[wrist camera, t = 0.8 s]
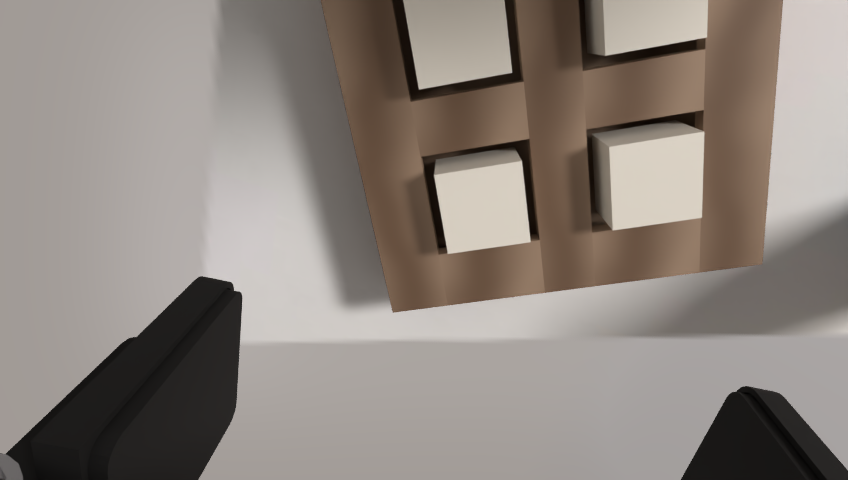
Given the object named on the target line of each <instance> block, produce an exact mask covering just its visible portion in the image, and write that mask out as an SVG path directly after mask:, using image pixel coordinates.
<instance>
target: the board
mask: <svg viewBox="0 0 848 480" xmlns="http://www.w3.org/2000/svg"><path fill="white" fill-rule="evenodd" d="M504 1H505V10H506V19H507V28H508V38H509V47H510V56H511V65H512V73H508V74H502V75H497V76H491V77H486V78H480V79H475V80H469V81H464V82H458V83H453V84H447V85H442V86H436V87H431V88H425V89H420V90H419V87H418V81H417V76H416V70H415V64H414V59H413V53H412V47H411V42H410V36H409V30H408V25H407V19H406V13H405V8H404V2H403V0H321V4H322V8H323V13H324V17H325V21H326V26H327V30H328V34H329V39H330V43H331V47H332V51H333V56H334V60H335V64H336V69H337V73H338V77H339V82H340V86H341V90H342V95H343V99H344V103H345V108H346V112H347V116H348V121H349V125H350V129H351V134H352V138H353V142H354V147H355V151H356V155H357V160H358V164H359V168H360V172H361V177H362V181H363V185H364V190H365V194H366V198H367V203H368V207H369V211H370V216H371V220H372V224H373V229H374V233H375V237H376V242H377V246H378V250H379V255H380V259H381V263H382V268H383V272H384V276H385V280H386V285H387V289H388V293H389V298H390V302H391V306H392V311H393V312H401V311H408V310H416V309H424V308H431V307H439V306H447V305H454V304H462V303H470V302H477V301H485V300H492V299H500V298H508V297H515V296H523V295H531V294H538V293H546V292H554V291H561V290H569V289H577V288H584V287H592V286H600V285H607V284H615V283H622V282H630V281H638V280H645V279H653V278H661V277H668V276H676V275H684V274H691V273H699V272H707V271H714V270H722V269H730V268H737V267H745V266H752V265H760V264H762V261H763V248H764V236H765V223H766V210H767V197H768V185H769V172H770V159H771V146H772V133H773V121H774V108H775V95H776V82H777V70H778V57H779V44H780V31H781V19H782V6H783V0H708V21H707V38H701V39H696V40H690V41H685V42H679V43H673V44H668V45H662V46H657V47H651V48H646V49H640V50H635V51H629V52H624V53H618V54H613V55H607V56H603V55H597V54H591V53H587V41H586V23H585V4H584V0H504ZM673 120H676V121H679V122H682V123H684V124H687V125H689V126H692V127H694V128H697V129H699V130H702V131H704V163H703V199H702V218H697V219H690V220H683V221H676V222H669V223H662V224H655V225H648V226H641V227H634V228H627V229H620V230H612V229H611V228H610V226H609V225H608V224H607V223H606V222H605V220H604V219H603V218H602V217H601V215H600V214H599V213H598V212H597V210H596V205H595V187H594V169H593V150H592V134H594V133H600V132H606V131H612V130H618V129H625V128H631V127H637V126H643V125H649V124H655V123H661V122H667V121H673ZM509 147H515V149H516V151H517V153H518V155H519V157H520V158H521V160H522V167H523V176H524V185H525V195H526V204H527V213H528V222H529V232H530V241H531V242H529V243H522V244H515V245H508V246H501V247H494V248H487V249H480V250H473V251H466V252H459V253H452V254H448V252H447V246H446V240H445V235H444V229H443V223H442V218H441V212H440V206H439V201H438V195H437V189H436V184H435V178H434V171H435V163H436V159H442V158H448V157H454V156H460V155H467V154H473V153H479V152H485V151H491V150H497V149H503V148H509Z"/></svg>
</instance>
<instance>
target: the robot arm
mask: <svg viewBox="0 0 848 480" xmlns="http://www.w3.org/2000/svg"><path fill="white" fill-rule="evenodd" d="M241 312H242V294H241V293H240V292H237V291H234V287H233V284H232V283H231V282H227V281H222V280H217V279H213V278H208V277H203V276H202V277H198V278H197V279H196V280H195V281H194V282H192V283H191V284H190V285H189V286H188V287H187V288H186V289H185V291H183V292H182V293H181V294H180V295H179V296H178V297H177V298H176V299H175V300H174V301H173V302H172V303H171V304H170V305H169V306H168V307H167V308H166V309H165V310H164V311H163V312H162V313H161V314H160V315H159V316H158V317H157V318H156V319H155V320H154V321H153V322H152V323H151V324H150V325H149V326H148V327H146V328H145V329H144V330H143V332H141V333H140V334H139V335H138V337H133V338H129V339H127V340H126V341H124V342H123V343H122V344H120V345H119V346H118V347H117V348H116V349H115V350H114V351H113V352H112V353H111V354H110V355H109V356H108V357H107V358H106V359H105V360H104V361H103V362H102V363H100V364H99V366H97V367H96V368H95V369H94V370H93V371H92V372H91V373H90V374H89V375H88V376H87V377H86V378H85V379H84V380H83V381H82V382H81V383H80V384H78V385H77V386H76V387H75V388H74V389H73V390H72V391H71V392H70V393H69V394H68V395H67V396H66V397H65V398H64V399H63V400H62V401H61V402H60V403H59V404H58V405H56V406H55V407H54V408H53V409H52V410H51V411H50V412H49V413H48V414H47V415H46V416H45V417H44V418H43V419H42V420H41V421H40V422H39V423H38V424H37V425H35V426H34V427H33V428H32V429H31V430H30V431H29V432H28V433H27V434H26V435H25V436H24V437H23V438H22V439H21V440H20V441H19V442H18V443H17V444H15V446H13V448H11V449H10V450H9V451H8V452H7V453H6V454H2V453H0V480H198V479H199V477H200V476H201V474H202V472H203V470H204V469H205V467H206V465H207V463H208V462H209V460H210V458H211V456H212V455H213V453H214V451H215V449H216V448H217V446H218V444H219V442H220V440H221V439H222V437H223V435H224V433H225V432H226V430H227V428H228V426H229V425H230V422H231V420H232V418H233V415H234V412H235V408H236V400H237V383H238V365H239V347H240V330H241ZM681 480H848V470H847V469H846V468H845V467H844V466H843V464H842V463H841V462H840V461H839V460H838V459H837V458H836V456H835V455H834V454H833V453H832V452H831V451H830V449H829V448H828V447H827V446H826V445H825V444H824V443H823V441H821V439H820V438H819V437H818V436H817V435H816V433H815V432H814V431H813V430H812V429H811V428H810V426H809V425H808V424H807V423H806V422H805V421H804V420H803V419H802V417H801V416H800V415H799V414H798V413H797V412H796V410H795V409H794V408H793V407H792V406H791V405H790V404H789V403H788V401H787V400H786V399H785V398H784V397H783V396H782V395H781V394H779V393H777V392H773V391H768V390H763V389H758V388H753V387H748V386H745V387H741V388H740V389H739V390H737V392H732V393H731V394H729V395H728V397H727V398H726V400H725V402H724V403H723V406H722V407H721V409H720V411H719V412H718V414H717V416H716V418H715V420H714V421H713V423H712V425H711V427H710V429H709V430H708V432H707V434H706V436H705V437H704V439H703V441H702V443H701V445H700V446H699V448H698V450H697V452H696V454H695V455H694V457H693V459H692V461H691V463H690V464H689V466H688V468H687V470H686V471H685V473H684V475H683V477H682V479H681Z"/></svg>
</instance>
